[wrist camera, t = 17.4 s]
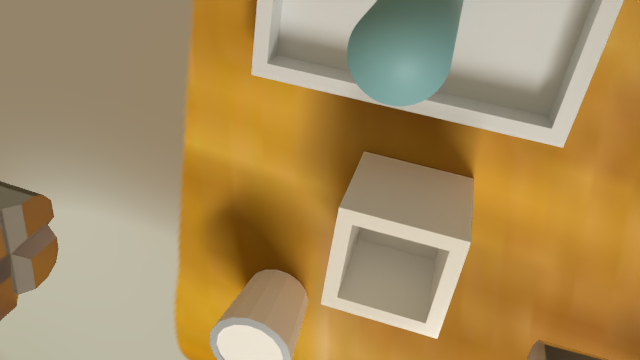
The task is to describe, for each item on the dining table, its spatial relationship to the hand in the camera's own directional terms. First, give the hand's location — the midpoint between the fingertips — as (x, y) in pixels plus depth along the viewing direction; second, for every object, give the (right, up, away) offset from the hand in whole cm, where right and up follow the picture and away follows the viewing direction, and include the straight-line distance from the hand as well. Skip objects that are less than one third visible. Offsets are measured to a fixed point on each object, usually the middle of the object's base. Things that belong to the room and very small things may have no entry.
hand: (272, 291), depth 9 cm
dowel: (+7, +13, +24) cm, 28 cm away
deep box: (+7, -1, +33) cm, 33 cm away
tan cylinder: (-3, -8, +40) cm, 41 cm away
